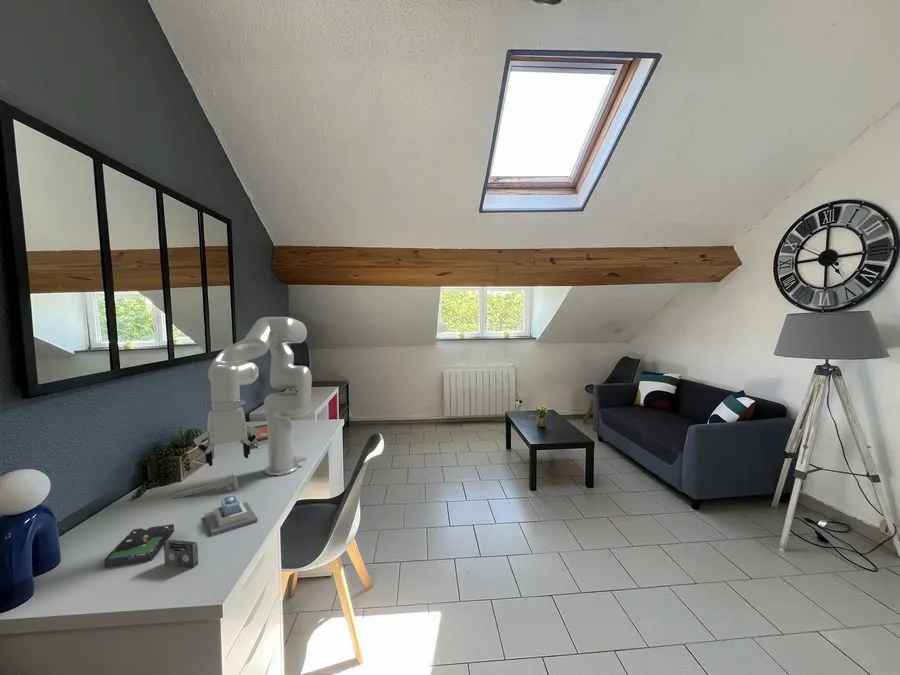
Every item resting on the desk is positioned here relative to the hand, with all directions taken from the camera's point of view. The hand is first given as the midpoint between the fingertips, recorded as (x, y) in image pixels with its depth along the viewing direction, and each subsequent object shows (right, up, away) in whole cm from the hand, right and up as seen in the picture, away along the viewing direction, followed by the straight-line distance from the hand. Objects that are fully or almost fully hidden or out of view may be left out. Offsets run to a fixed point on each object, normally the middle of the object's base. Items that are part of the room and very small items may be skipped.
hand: (228, 460), depth 120 cm
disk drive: (-16, -20, -14) cm, 29 cm away
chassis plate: (0, -18, +1) cm, 18 cm away
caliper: (-19, -18, +19) cm, 32 cm away
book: (-26, -15, +82) cm, 88 cm away
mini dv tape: (0, -20, -21) cm, 29 cm away
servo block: (0, -17, +1) cm, 17 cm away
